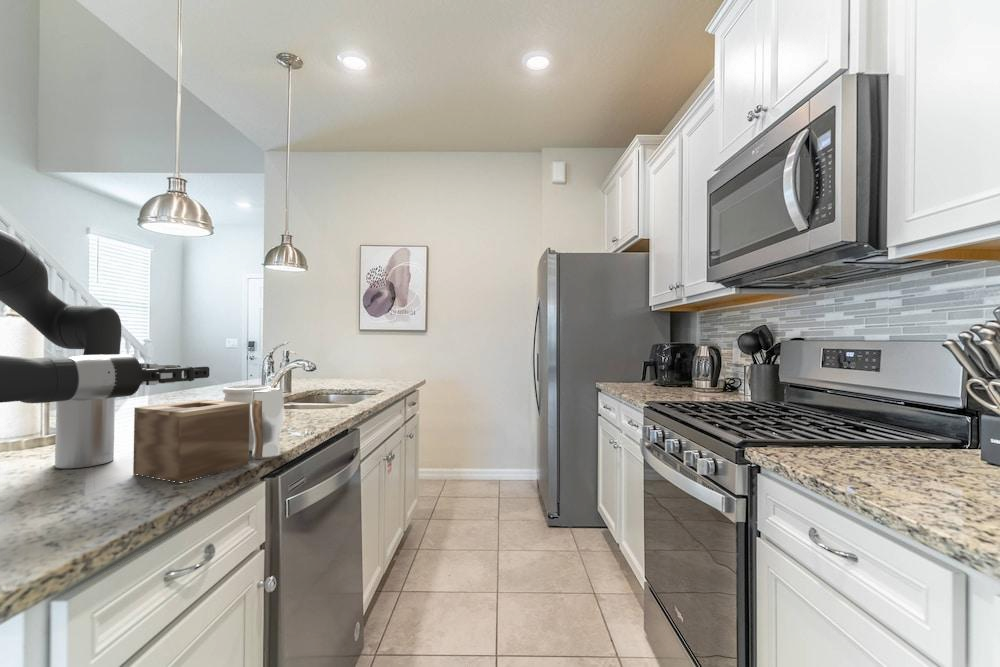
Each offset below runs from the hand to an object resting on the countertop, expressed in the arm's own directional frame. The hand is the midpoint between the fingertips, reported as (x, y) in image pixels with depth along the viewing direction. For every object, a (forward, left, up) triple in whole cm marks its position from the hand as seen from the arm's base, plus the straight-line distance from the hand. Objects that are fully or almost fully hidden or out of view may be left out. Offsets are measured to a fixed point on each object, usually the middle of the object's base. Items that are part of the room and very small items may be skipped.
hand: (193, 371), depth 93 cm
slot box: (0, 0, -20) cm, 20 cm away
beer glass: (+4, +14, -20) cm, 25 cm away
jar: (-6, +17, -20) cm, 27 cm away
